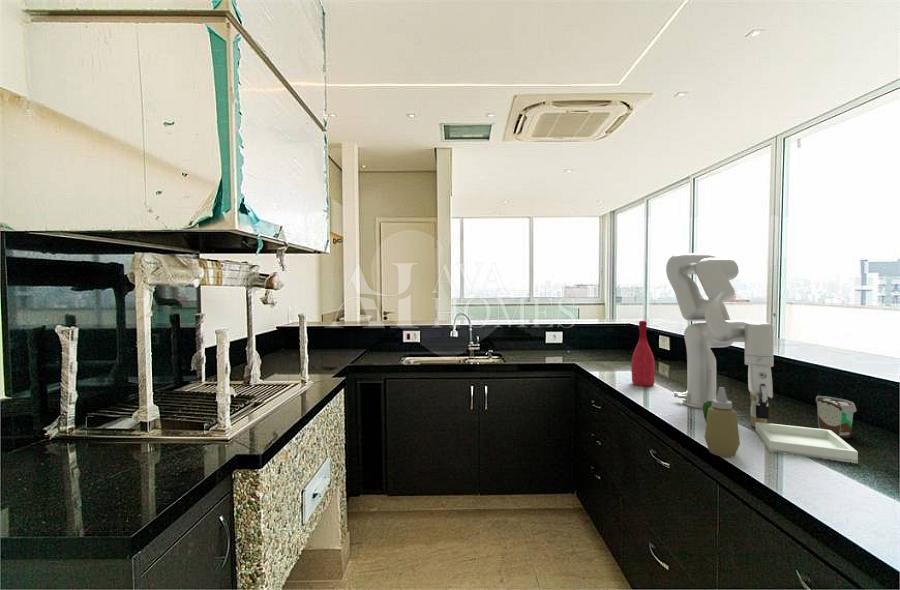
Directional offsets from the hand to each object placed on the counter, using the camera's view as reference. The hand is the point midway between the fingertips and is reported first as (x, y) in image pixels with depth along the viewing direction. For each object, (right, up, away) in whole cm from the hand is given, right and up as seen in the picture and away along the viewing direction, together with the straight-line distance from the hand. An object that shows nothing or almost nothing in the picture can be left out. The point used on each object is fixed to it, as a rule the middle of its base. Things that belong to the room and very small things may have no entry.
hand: (759, 414), depth 133 cm
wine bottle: (-9, -4, +60) cm, 61 cm away
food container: (+20, -4, -7) cm, 22 cm away
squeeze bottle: (-26, -5, -22) cm, 34 cm away
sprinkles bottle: (0, -4, 0) cm, 4 cm away
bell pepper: (-14, -4, -1) cm, 14 cm away
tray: (0, -4, -16) cm, 17 cm away
